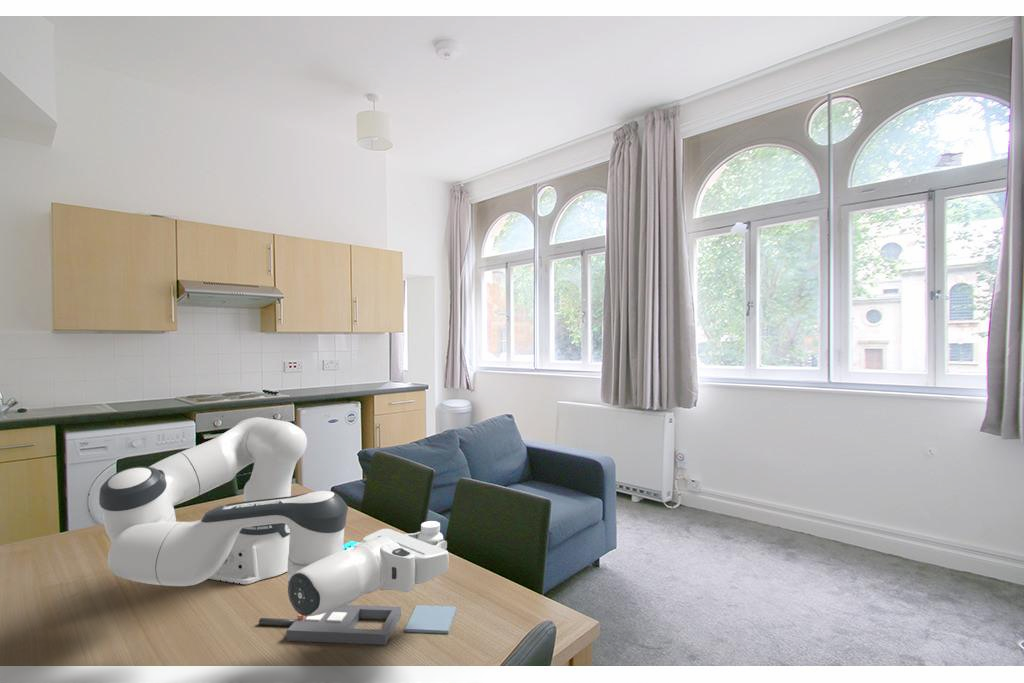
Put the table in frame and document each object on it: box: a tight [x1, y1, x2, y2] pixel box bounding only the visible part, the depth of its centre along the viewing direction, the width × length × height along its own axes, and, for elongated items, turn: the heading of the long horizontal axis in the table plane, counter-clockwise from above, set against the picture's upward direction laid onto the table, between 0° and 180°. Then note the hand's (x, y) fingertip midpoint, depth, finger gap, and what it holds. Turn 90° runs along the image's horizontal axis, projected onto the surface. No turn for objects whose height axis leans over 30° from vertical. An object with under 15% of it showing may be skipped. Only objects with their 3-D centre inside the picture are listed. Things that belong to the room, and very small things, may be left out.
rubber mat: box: [404, 604, 458, 634], centre depth 103 cm, size 9×9×1 cm
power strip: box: [258, 604, 402, 646], centre depth 100 cm, size 28×10×3 cm, turn 86°
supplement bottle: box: [418, 520, 444, 546], centre depth 102 cm, size 5×5×10 cm
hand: (433, 539), depth 103 cm, fingers closed on supplement bottle, 5 cm apart
